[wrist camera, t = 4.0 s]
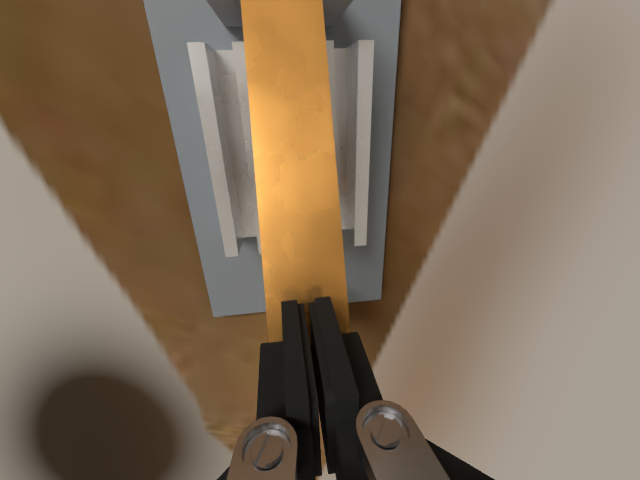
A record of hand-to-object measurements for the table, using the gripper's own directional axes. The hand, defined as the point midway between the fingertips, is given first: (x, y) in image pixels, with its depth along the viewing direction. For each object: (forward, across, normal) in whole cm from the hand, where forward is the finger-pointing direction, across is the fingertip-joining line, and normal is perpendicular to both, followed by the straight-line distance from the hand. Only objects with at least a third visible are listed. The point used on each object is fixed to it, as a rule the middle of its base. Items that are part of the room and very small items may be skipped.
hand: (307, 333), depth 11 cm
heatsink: (+12, 0, -5) cm, 13 cm away
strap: (+4, 0, -5) cm, 6 cm away
